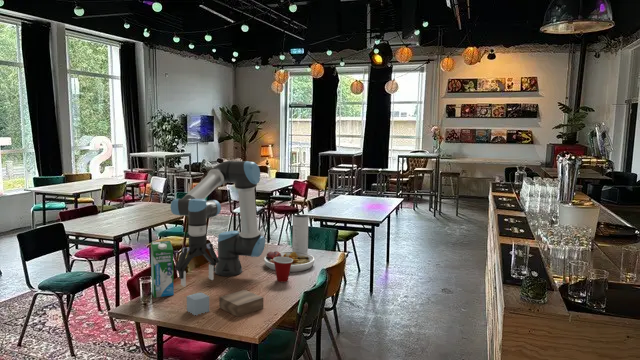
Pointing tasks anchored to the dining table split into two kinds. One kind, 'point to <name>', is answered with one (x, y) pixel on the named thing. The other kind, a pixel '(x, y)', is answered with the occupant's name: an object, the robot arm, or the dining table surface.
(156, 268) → the milk carton
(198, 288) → the dining table surface
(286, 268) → the plastic cup
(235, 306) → the walnut block
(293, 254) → the bowl
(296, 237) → the speaker
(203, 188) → the robot arm
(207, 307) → the slate cube
